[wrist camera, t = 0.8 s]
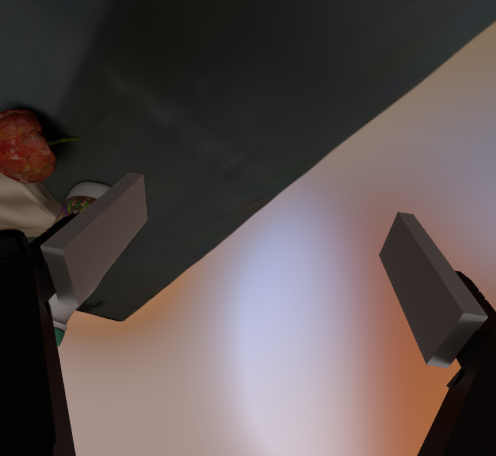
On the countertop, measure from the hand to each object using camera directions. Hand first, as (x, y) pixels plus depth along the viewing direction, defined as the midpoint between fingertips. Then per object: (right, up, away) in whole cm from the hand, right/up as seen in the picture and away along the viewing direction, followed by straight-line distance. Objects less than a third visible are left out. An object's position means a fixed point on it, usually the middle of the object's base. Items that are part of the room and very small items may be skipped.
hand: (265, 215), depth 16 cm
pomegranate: (-24, +11, +17) cm, 31 cm away
